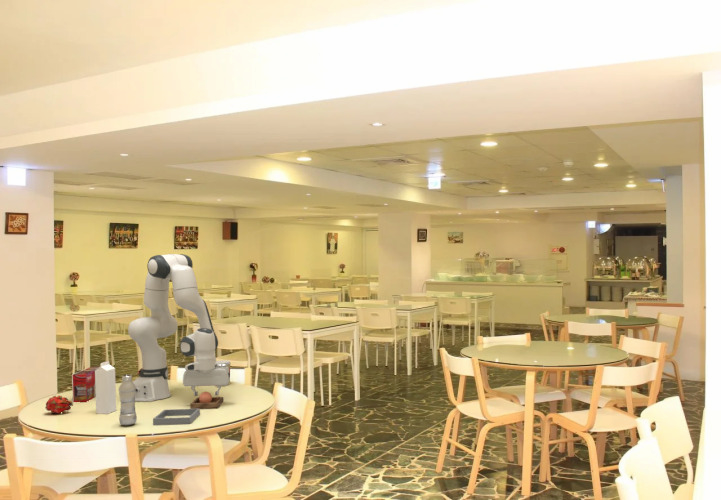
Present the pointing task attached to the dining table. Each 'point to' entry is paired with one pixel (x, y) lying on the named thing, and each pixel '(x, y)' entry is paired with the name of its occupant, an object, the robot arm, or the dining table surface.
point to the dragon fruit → (58, 404)
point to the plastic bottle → (127, 401)
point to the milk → (105, 389)
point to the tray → (212, 405)
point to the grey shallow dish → (176, 412)
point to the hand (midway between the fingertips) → (206, 395)
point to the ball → (205, 397)
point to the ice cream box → (84, 385)
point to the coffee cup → (226, 366)
